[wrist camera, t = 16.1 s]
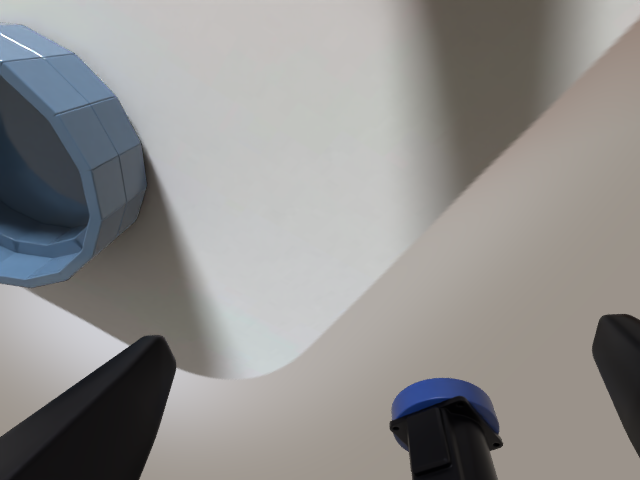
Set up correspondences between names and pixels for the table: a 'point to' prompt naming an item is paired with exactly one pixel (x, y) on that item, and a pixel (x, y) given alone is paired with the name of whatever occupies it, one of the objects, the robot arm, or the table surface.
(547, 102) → the table surface
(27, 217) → the bowl
